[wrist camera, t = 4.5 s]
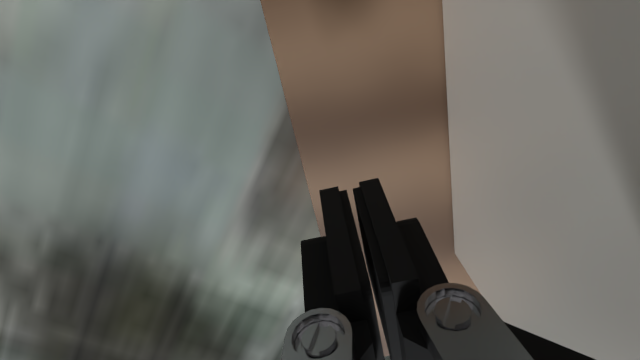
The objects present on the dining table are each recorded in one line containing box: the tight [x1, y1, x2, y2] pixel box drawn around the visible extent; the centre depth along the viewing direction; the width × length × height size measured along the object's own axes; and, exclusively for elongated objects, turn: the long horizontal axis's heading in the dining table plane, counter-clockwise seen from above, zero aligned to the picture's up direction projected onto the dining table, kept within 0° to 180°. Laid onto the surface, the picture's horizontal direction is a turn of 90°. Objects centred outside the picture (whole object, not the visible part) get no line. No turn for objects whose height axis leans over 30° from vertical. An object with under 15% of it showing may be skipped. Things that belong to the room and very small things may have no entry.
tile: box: [442, 0, 640, 360], centre depth 11 cm, size 1×13×12 cm, turn 11°
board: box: [260, 0, 481, 356], centre depth 17 cm, size 26×24×2 cm
